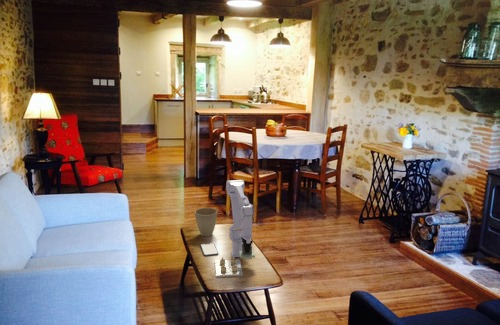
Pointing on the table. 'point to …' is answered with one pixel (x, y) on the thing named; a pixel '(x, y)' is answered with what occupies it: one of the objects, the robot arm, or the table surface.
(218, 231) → the table surface
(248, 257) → the green and grey block
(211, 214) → the plant pot
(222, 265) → the plate
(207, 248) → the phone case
